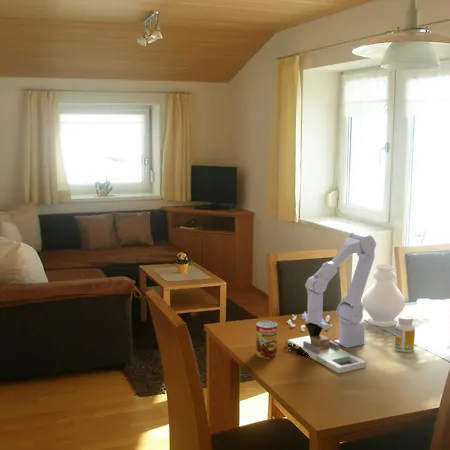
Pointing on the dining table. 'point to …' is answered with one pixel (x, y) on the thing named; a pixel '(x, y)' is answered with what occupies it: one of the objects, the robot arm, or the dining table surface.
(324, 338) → the block
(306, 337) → the deck
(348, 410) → the dining table surface
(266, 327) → the canned food
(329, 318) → the game piece set
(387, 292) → the decorative vase
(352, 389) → the dining table surface
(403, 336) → the supplement bottle
